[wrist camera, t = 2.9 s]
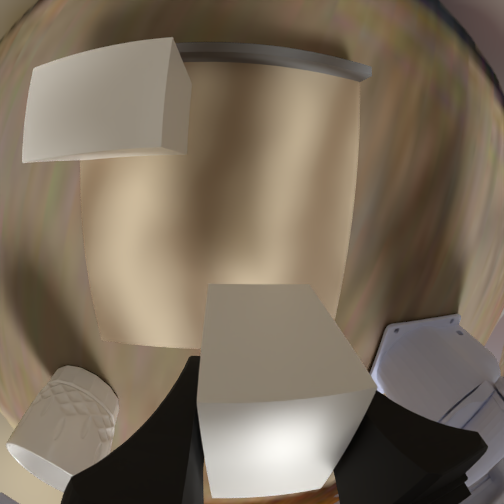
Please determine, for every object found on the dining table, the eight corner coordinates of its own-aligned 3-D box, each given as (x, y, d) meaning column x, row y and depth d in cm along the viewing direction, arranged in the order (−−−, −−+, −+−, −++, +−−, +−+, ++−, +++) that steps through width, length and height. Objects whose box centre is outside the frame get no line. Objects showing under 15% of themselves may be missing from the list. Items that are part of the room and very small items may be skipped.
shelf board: (354, 76, 13) (371, 66, 11) (325, 339, 19) (335, 358, 17) (95, 69, 12) (79, 58, 10) (105, 334, 17) (94, 353, 15)
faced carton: (92, 93, 12) (34, 66, 6) (192, 83, 12) (173, 35, 7) (87, 160, 13) (22, 163, 7) (187, 154, 13) (161, 147, 8)
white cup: (44, 347, 17) (-10, 426, 8) (123, 375, 18) (89, 478, 9) (59, 403, 19) (27, 474, 10) (128, 427, 21) (109, 509, 11)
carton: (310, 284, 11) (380, 386, 5) (292, 389, 13) (322, 487, 7) (208, 283, 10) (196, 402, 5) (212, 392, 12) (212, 498, 7)
